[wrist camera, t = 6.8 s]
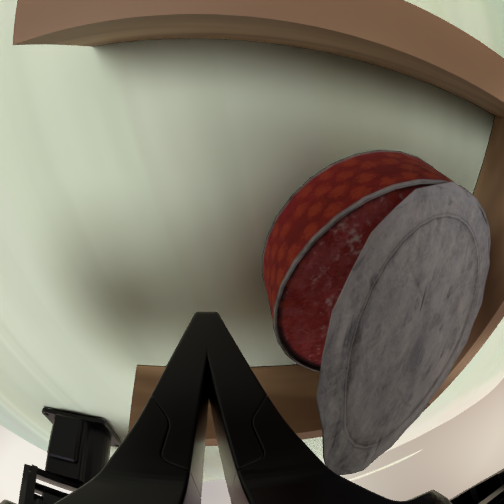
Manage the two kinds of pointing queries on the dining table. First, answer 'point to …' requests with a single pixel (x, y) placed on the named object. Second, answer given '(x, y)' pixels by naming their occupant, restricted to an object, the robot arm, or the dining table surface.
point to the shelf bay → (326, 40)
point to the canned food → (375, 293)
